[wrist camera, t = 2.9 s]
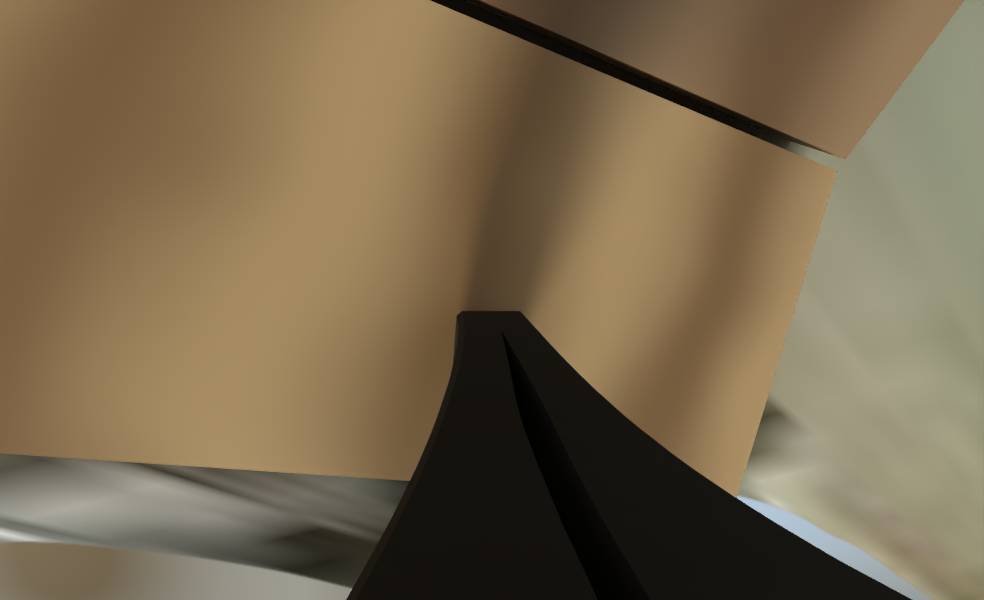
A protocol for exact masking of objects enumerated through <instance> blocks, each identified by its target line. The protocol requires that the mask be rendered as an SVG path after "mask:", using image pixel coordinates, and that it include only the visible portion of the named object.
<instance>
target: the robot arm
mask: <svg viewBox="0 0 984 600" xmlns="http://www.w3.org/2000/svg"><path fill="white" fill-rule="evenodd" d="M347 600H911V599H910V598H907V597H906V596H904V595H902V594H900V593H898V592H897V591H895V590H893V589H891V588H889V587H887V586H885V585H884V584H882V583H880V582H878V581H876V580H874V579H872V578H871V577H868V576H867V575H865V574H863V573H861V572H859V571H858V570H856V569H854V568H852V567H850V566H848V565H846V564H845V563H843V562H841V561H839V560H837V559H836V558H834V557H832V556H830V555H828V554H827V553H825V552H824V551H822V550H820V549H818V548H816V547H815V546H813V545H812V544H810V543H808V542H807V541H805V540H803V539H802V538H800V537H798V536H797V535H795V534H793V533H791V532H790V531H788V530H787V529H785V528H783V527H782V526H780V525H778V524H776V523H775V522H773V521H772V520H770V519H768V518H767V517H765V516H764V515H762V514H761V513H759V512H757V511H756V510H754V509H752V508H751V507H749V506H748V505H746V504H745V503H743V502H742V501H740V500H738V499H737V498H735V497H734V496H732V495H731V494H730V493H728V492H727V491H725V490H724V489H722V488H721V487H719V486H718V485H716V484H715V483H713V482H712V481H710V480H709V479H707V478H706V477H705V476H703V475H702V474H700V473H699V472H697V471H696V470H694V469H693V468H692V467H690V466H689V465H687V464H686V463H685V462H683V461H682V460H680V459H679V458H678V457H676V456H675V455H674V454H672V453H671V452H670V451H668V450H667V449H666V448H665V447H663V446H662V445H661V444H659V443H658V442H657V441H656V440H654V439H653V438H652V437H650V436H649V435H648V434H647V433H645V432H644V431H643V430H641V429H640V428H639V427H638V426H636V425H635V424H634V423H633V422H632V421H630V420H629V419H628V418H627V417H626V416H624V415H623V414H622V413H621V412H620V411H619V410H618V409H617V408H615V407H614V406H613V405H612V404H611V403H610V402H609V401H608V400H607V399H605V398H604V397H603V396H602V395H601V394H600V393H599V392H598V391H596V390H595V389H594V388H593V387H592V386H591V385H590V384H589V383H588V382H587V381H586V380H585V379H584V378H583V377H582V376H581V375H580V374H579V373H578V372H577V371H576V370H575V369H574V368H573V367H572V366H571V365H570V364H569V363H568V362H567V361H566V360H565V359H564V358H563V357H562V356H561V355H560V354H559V353H558V352H557V351H556V350H555V348H554V347H553V346H552V345H551V344H550V343H549V342H548V341H547V340H546V339H545V338H544V337H543V335H542V334H541V333H540V332H539V331H538V330H537V329H536V328H535V327H534V326H533V325H532V323H531V322H530V321H529V320H528V319H527V318H526V317H525V316H524V315H523V314H522V313H521V312H520V311H462V312H460V313H459V314H458V315H457V316H456V330H455V343H454V356H453V366H452V371H451V375H450V379H449V382H448V386H447V389H446V392H445V395H444V398H443V401H442V404H441V407H440V410H439V413H438V416H437V418H436V421H435V424H434V426H433V429H432V432H431V434H430V437H429V439H428V441H427V444H426V446H425V449H424V451H423V453H422V455H421V458H420V460H419V462H418V465H417V467H416V469H415V471H414V473H413V475H412V477H411V480H410V482H409V484H408V486H407V488H406V490H405V492H404V494H403V496H402V498H401V500H400V503H399V505H398V507H397V509H396V510H395V512H394V514H393V516H392V518H391V520H390V522H389V524H388V526H387V528H386V530H385V532H384V534H383V535H382V537H381V539H380V541H379V542H378V544H377V546H376V548H375V550H374V551H373V553H372V555H371V557H370V558H369V560H368V562H367V564H366V566H365V567H364V569H363V571H362V573H361V575H360V576H359V578H358V580H357V582H356V583H355V585H354V587H353V589H352V591H351V592H350V594H349V596H348V598H347Z"/></svg>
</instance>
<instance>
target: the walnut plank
mask: <svg viewBox="0 0 984 600" xmlns="http://www.w3.org/2000/svg"><path fill="white" fill-rule="evenodd" d="M465 1H467V2H470V3H472V4H474V5H477V6H479V7H481V8H484V9H486V10H488V11H491V12H493V13H495V14H498V15H500V16H502V17H505V18H507V19H509V20H512V21H514V22H516V23H519V24H521V25H523V26H525V27H528V28H530V29H532V30H535V31H537V32H539V33H542V34H544V35H546V36H549V37H551V38H553V39H556V40H558V41H560V42H563V43H565V44H567V45H570V46H572V47H574V48H576V49H579V50H581V51H583V52H586V53H588V54H590V55H593V56H595V57H597V58H600V59H602V60H604V61H607V62H609V63H611V64H614V65H616V66H618V67H621V68H623V69H625V70H628V71H630V72H632V73H634V74H637V75H639V76H641V77H644V78H646V79H648V80H651V81H653V82H655V83H658V84H660V85H662V86H665V87H667V88H669V89H672V90H674V91H676V92H679V93H681V94H683V95H685V96H688V97H690V98H692V99H695V100H697V101H699V102H702V103H704V104H706V105H709V106H711V107H713V108H716V109H718V110H720V111H723V112H725V113H727V114H730V115H732V116H734V117H737V118H739V119H741V120H743V121H746V122H748V123H750V124H753V125H755V126H757V127H760V128H762V129H764V130H767V131H769V132H771V133H774V134H776V135H778V136H781V137H783V138H785V139H788V140H790V141H792V142H795V143H798V144H801V145H804V146H807V147H810V148H813V149H816V150H819V151H822V152H825V153H828V154H832V155H835V156H838V157H841V158H844V159H846V158H847V156H848V155H849V154H850V152H851V151H852V150H853V148H854V147H855V146H856V144H857V143H858V142H859V140H860V139H861V138H862V136H863V135H864V134H865V132H866V131H867V130H868V128H869V127H870V126H871V124H872V123H873V122H874V120H875V119H876V118H877V116H878V115H879V114H880V112H881V111H882V110H883V108H884V107H885V106H886V104H887V103H888V102H889V100H890V99H891V98H892V96H893V95H894V94H895V92H896V91H897V90H898V88H899V87H900V86H901V84H902V83H903V82H904V80H905V79H906V78H907V76H908V75H909V74H910V72H911V71H912V70H913V68H914V67H915V66H916V64H917V63H918V62H919V60H920V59H921V58H922V56H923V55H924V54H925V52H926V51H927V50H928V48H929V47H930V46H931V44H932V43H933V42H934V40H935V39H936V38H937V36H938V35H939V34H940V32H941V31H942V30H943V28H944V27H945V26H946V24H947V23H948V22H949V20H950V19H951V18H952V16H953V15H954V14H955V12H956V11H957V10H958V8H959V7H960V6H961V4H962V3H963V2H964V0H465Z"/></svg>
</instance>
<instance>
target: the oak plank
mask: <svg viewBox="0 0 984 600" xmlns="http://www.w3.org/2000/svg"><path fill="white" fill-rule="evenodd" d="M836 173H837V171H835V170H833V169H830V168H828V167H826V166H823V165H821V164H818V163H816V162H814V161H811V160H809V159H806V158H804V157H802V156H799V155H797V154H795V153H792V152H790V151H787V150H785V149H783V148H780V147H778V146H776V145H773V144H771V143H768V142H766V141H764V140H761V139H759V138H757V137H754V136H752V135H749V134H747V133H745V132H742V131H740V130H737V129H735V128H733V127H730V126H728V125H726V124H723V123H721V122H718V121H716V120H714V119H711V118H709V117H707V116H704V115H702V114H699V113H697V112H695V111H692V110H690V109H688V108H685V107H683V106H680V105H678V104H676V103H673V102H671V101H668V100H666V99H664V98H661V97H659V96H657V95H654V94H652V93H649V92H647V91H645V90H642V89H640V88H638V87H635V86H633V85H630V84H628V83H626V82H623V81H621V80H618V79H616V78H614V77H611V76H609V75H607V74H604V73H602V72H599V71H597V70H595V69H592V68H590V67H588V66H585V65H583V64H580V63H578V62H576V61H573V60H571V59H569V58H566V57H564V56H561V55H559V54H557V53H554V52H552V51H549V50H547V49H545V48H542V47H540V46H538V45H535V44H533V43H530V42H528V41H526V40H523V39H521V38H519V37H516V36H514V35H511V34H509V33H507V32H504V31H502V30H500V29H497V28H495V27H492V26H490V25H488V24H485V23H483V22H480V21H478V20H476V19H473V18H471V17H469V16H466V15H464V14H461V13H459V12H457V11H454V10H452V9H450V8H447V7H445V6H442V5H440V4H438V3H435V2H433V1H431V0H0V453H5V454H20V455H35V456H49V457H64V458H79V459H94V460H109V461H123V462H138V463H153V464H168V465H183V466H198V467H212V468H227V469H242V470H257V471H272V472H286V473H301V474H316V475H331V476H346V477H360V478H375V479H390V480H405V481H410V480H411V477H412V475H413V473H414V471H415V469H416V467H417V465H418V462H419V460H420V458H421V455H422V453H423V451H424V449H425V446H426V444H427V441H428V439H429V437H430V434H431V432H432V429H433V426H434V424H435V421H436V418H437V416H438V413H439V410H440V407H441V404H442V401H443V398H444V395H445V392H446V389H447V386H448V382H449V379H450V375H451V371H452V366H453V356H454V343H455V330H456V316H457V315H458V314H459V313H460V312H462V311H520V312H521V313H522V314H523V315H524V316H525V317H526V318H527V319H528V320H529V321H530V322H531V323H532V325H533V326H534V327H535V328H536V329H537V330H538V331H539V332H540V333H541V334H542V335H543V337H544V338H545V339H546V340H547V341H548V342H549V343H550V344H551V345H552V346H553V347H554V348H555V350H556V351H557V352H558V353H559V354H560V355H561V356H562V357H563V358H564V359H565V360H566V361H567V362H568V363H569V364H570V365H571V366H572V367H573V368H574V369H575V370H576V371H577V372H578V373H579V374H580V375H581V376H582V377H583V378H584V379H585V380H586V381H587V382H588V383H589V384H590V385H591V386H592V387H593V388H594V389H595V390H596V391H598V392H599V393H600V394H601V395H602V396H603V397H604V398H605V399H607V400H608V401H609V402H610V403H611V404H612V405H613V406H614V407H615V408H617V409H618V410H619V411H620V412H621V413H622V414H623V415H624V416H626V417H627V418H628V419H629V420H630V421H632V422H633V423H634V424H635V425H636V426H638V427H639V428H640V429H641V430H643V431H644V432H645V433H647V434H648V435H649V436H650V437H652V438H653V439H654V440H656V441H657V442H658V443H659V444H661V445H662V446H663V447H665V448H666V449H667V450H668V451H670V452H671V453H672V454H674V455H675V456H676V457H678V458H679V459H680V460H682V461H683V462H685V463H686V464H687V465H689V466H690V467H692V468H693V469H694V470H696V471H697V472H699V473H700V474H702V475H703V476H705V477H706V478H707V479H709V480H710V481H712V482H713V483H715V484H716V485H718V486H719V487H721V488H722V489H724V490H725V491H727V492H728V493H730V494H731V495H732V496H734V497H735V498H737V495H738V492H739V489H740V485H741V482H742V479H743V476H744V472H745V469H746V466H747V463H748V459H749V456H750V453H751V450H752V446H753V443H754V440H755V437H756V433H757V430H758V427H759V424H760V420H761V417H762V414H763V411H764V407H765V404H766V401H767V398H768V394H769V391H770V388H771V385H772V381H773V378H774V375H775V372H776V368H777V365H778V362H779V359H780V355H781V352H782V349H783V345H784V342H785V339H786V336H787V332H788V329H789V326H790V323H791V319H792V316H793V313H794V310H795V306H796V303H797V300H798V297H799V293H800V290H801V287H802V284H803V280H804V277H805V274H806V271H807V267H808V264H809V261H810V258H811V254H812V251H813V248H814V245H815V241H816V238H817V235H818V232H819V228H820V225H821V222H822V219H823V215H824V212H825V209H826V206H827V202H828V199H829V196H830V193H831V189H832V186H833V183H834V180H835V176H836Z"/></svg>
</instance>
